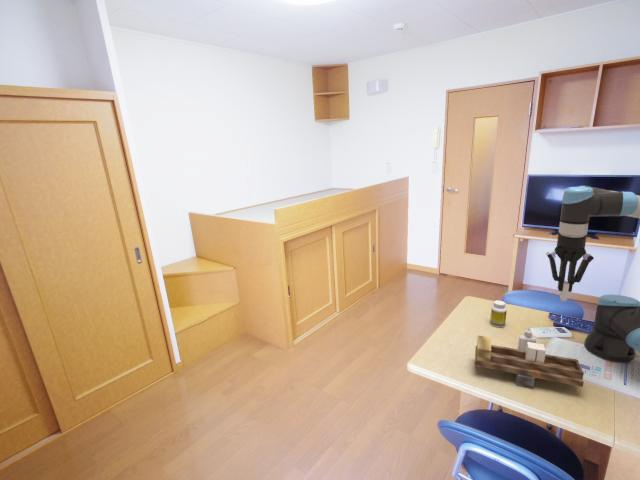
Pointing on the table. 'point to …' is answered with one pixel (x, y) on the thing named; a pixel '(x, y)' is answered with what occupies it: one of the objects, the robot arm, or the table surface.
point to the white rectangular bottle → (525, 339)
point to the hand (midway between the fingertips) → (563, 299)
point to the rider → (535, 352)
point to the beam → (527, 365)
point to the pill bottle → (498, 314)
